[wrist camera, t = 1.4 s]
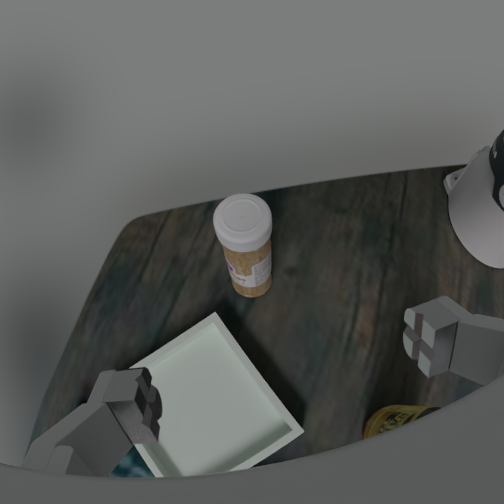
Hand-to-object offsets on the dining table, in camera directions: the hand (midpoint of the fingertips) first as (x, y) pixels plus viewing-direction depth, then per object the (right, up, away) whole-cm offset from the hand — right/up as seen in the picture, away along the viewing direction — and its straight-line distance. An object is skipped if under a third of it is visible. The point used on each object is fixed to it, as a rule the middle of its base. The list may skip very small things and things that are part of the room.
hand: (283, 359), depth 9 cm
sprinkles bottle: (-1, 0, +28) cm, 28 cm away
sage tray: (-6, -13, +21) cm, 26 cm away
